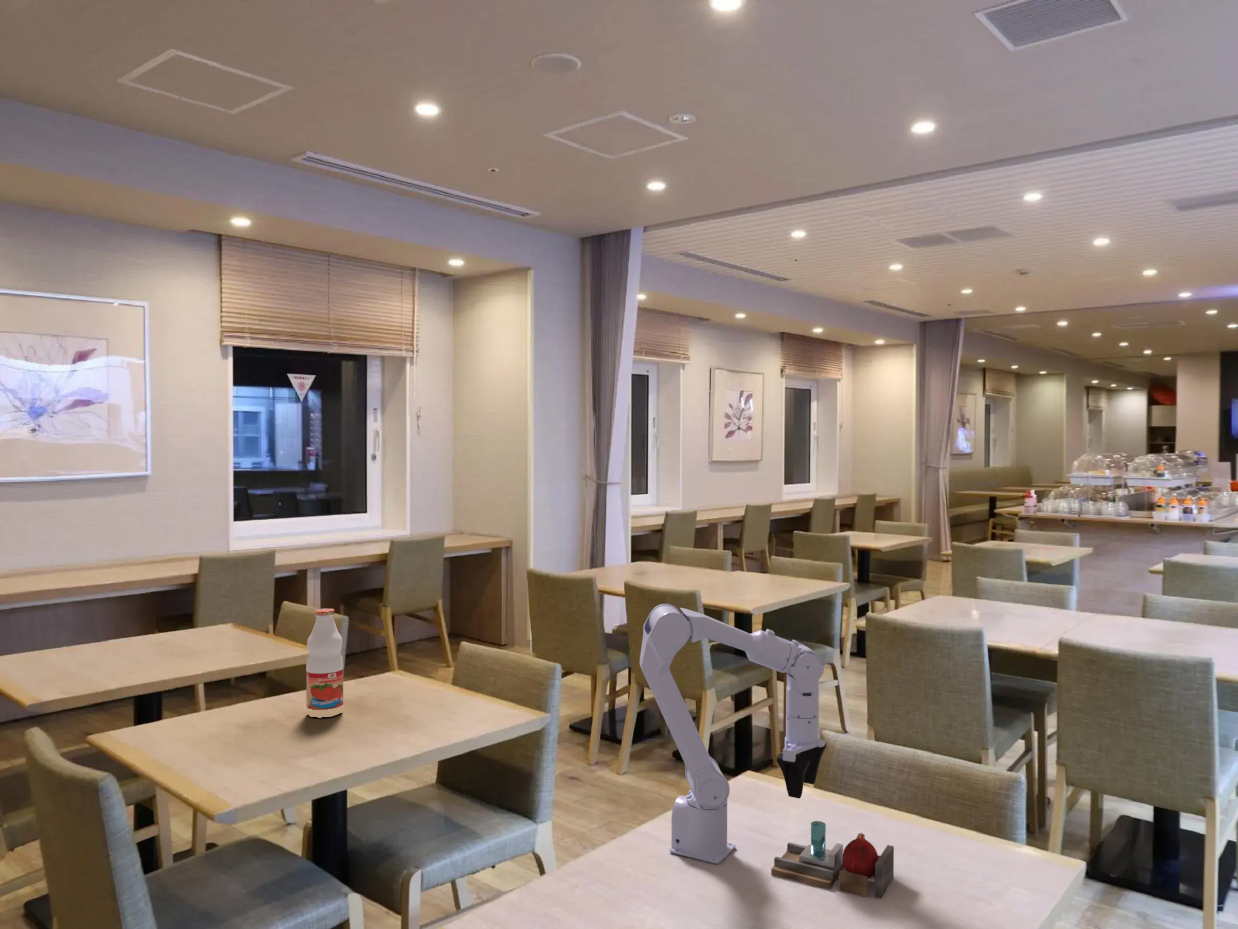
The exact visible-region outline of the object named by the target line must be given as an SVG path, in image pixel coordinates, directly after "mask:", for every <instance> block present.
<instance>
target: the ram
mask: <svg viewBox="0 0 1238 929" xmlns="http://www.w3.org/2000/svg"><path fill="white" fill-rule="evenodd" d="M826 828H827V827H826V823H825V822H824V821H819V820H814V821H811V822H810V844H808V845H806V846H807V847H806V848H805V849H804V850H803V852H802V853H801V854H800V855H799V862H801V863H805V864H809V865H813V866H818V867H822V868H826V869H830V870H834V875H835V873H836V872H837V870H838V869H839V868H840V866H841V865H842V864H843V851H844V844H843V843H836V844H835V845H834V846H833V848H831V849H829V848H826V841H827V840H826V830H827V829H826Z"/></svg>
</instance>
